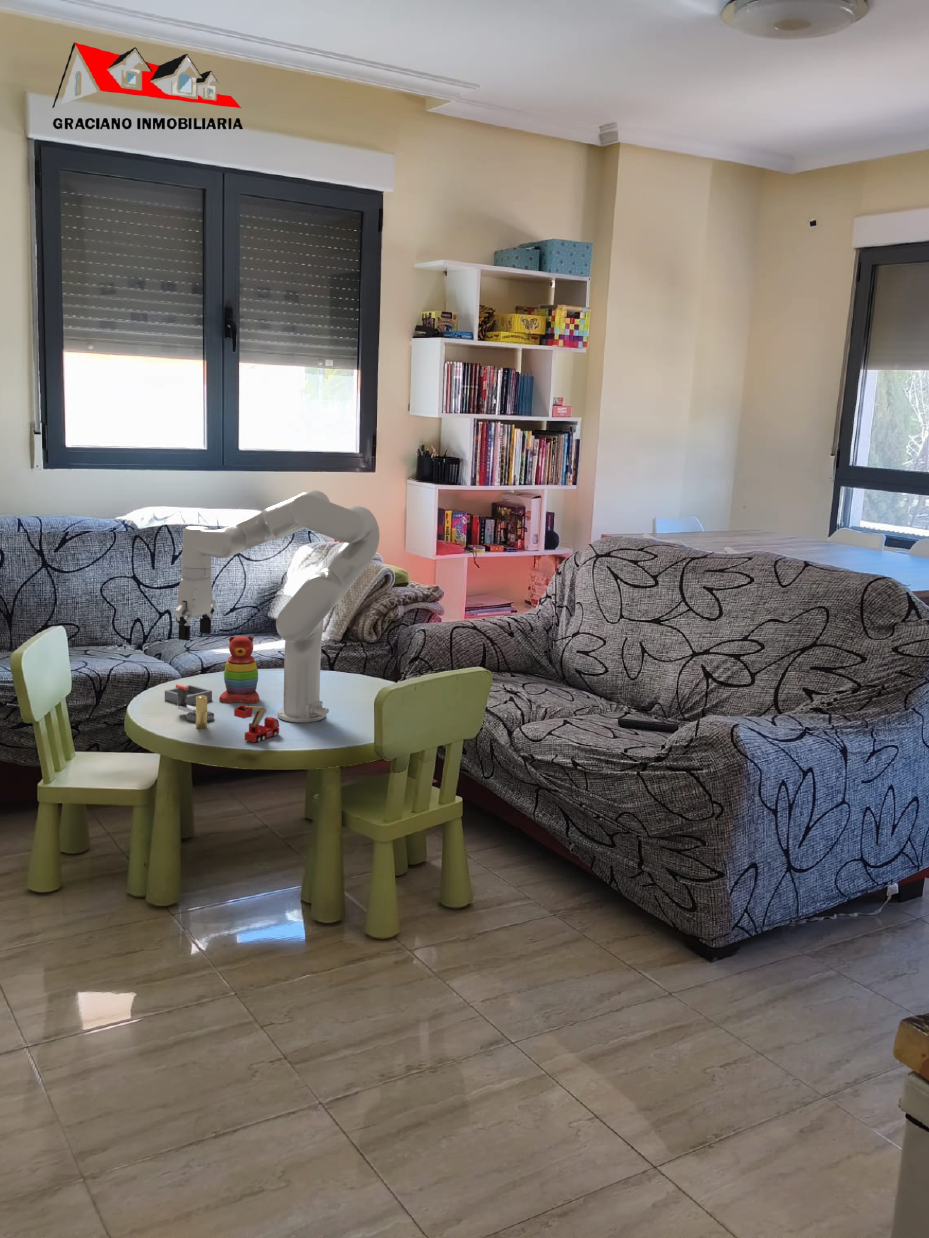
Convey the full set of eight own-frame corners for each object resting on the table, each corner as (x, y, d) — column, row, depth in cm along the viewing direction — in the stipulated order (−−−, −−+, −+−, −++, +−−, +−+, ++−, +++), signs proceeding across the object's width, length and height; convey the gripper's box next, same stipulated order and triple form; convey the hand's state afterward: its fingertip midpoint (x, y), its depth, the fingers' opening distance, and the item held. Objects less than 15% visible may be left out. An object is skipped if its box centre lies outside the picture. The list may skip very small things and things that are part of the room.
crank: (210, 713, 285) (210, 690, 283) (199, 716, 282) (199, 693, 281) (182, 705, 291) (182, 683, 289) (171, 708, 288) (171, 685, 287)
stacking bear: (217, 702, 300) (218, 639, 297) (224, 692, 310) (224, 631, 307) (257, 704, 301) (258, 641, 297) (262, 694, 311) (263, 633, 307)
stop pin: (209, 727, 278) (209, 696, 277) (201, 729, 276) (201, 698, 274) (201, 724, 280) (201, 694, 278) (193, 727, 277) (193, 696, 276)
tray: (212, 699, 303) (212, 690, 302) (186, 706, 295) (186, 696, 295) (189, 693, 308) (189, 684, 307) (164, 699, 300) (164, 690, 300)
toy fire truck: (280, 734, 275) (281, 697, 273) (243, 747, 264) (244, 709, 262) (270, 732, 277) (271, 695, 275) (233, 745, 265) (233, 706, 263)
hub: (219, 718, 285) (219, 714, 285) (199, 724, 280) (199, 720, 279) (201, 713, 289) (201, 709, 289) (180, 719, 284) (180, 714, 283)
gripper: (203, 567, 296) (201, 629, 300) (164, 575, 280) (163, 640, 284) (226, 571, 294) (224, 633, 297) (189, 579, 278) (187, 644, 281)
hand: (194, 636), depth 290 cm, fingers open, 9 cm apart
